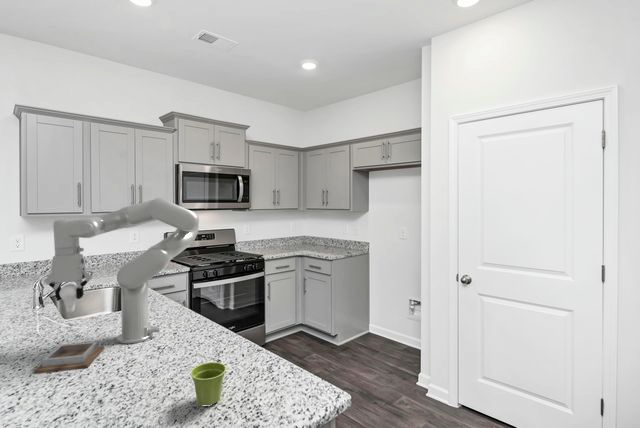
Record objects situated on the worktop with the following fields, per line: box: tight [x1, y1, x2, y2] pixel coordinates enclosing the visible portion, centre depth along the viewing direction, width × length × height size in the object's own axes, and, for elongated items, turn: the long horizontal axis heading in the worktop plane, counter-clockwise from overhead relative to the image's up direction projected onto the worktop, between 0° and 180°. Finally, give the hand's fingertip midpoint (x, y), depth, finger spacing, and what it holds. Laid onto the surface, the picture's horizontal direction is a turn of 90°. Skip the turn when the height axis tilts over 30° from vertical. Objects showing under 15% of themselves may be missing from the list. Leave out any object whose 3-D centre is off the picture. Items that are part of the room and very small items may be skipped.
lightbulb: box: [59, 283, 78, 314], centre depth 128 cm, size 6×6×11 cm
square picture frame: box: [41, 341, 99, 368], centre depth 117 cm, size 12×12×2 cm
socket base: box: [33, 345, 105, 374], centre depth 117 cm, size 15×15×1 cm
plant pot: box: [190, 361, 227, 406], centre depth 93 cm, size 9×9×9 cm
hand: (69, 298), depth 128 cm, fingers closed on lightbulb, 5 cm apart
